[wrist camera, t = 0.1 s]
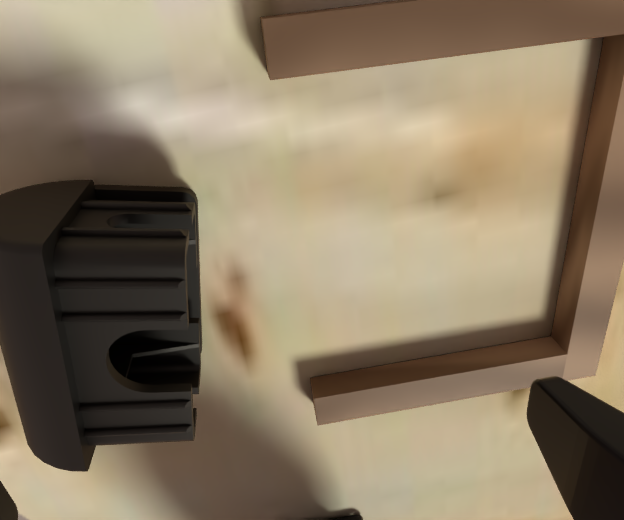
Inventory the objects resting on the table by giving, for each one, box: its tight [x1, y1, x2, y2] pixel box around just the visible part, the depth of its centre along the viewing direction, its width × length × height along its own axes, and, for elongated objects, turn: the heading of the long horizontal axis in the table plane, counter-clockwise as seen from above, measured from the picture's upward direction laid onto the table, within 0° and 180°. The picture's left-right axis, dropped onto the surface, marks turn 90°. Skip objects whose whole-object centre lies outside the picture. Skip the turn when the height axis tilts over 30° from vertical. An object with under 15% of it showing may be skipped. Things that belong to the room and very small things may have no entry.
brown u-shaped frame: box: [260, 0, 624, 425], centre depth 23 cm, size 20×16×2 cm
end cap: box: [0, 180, 202, 471], centre depth 20 cm, size 10×7×7 cm
